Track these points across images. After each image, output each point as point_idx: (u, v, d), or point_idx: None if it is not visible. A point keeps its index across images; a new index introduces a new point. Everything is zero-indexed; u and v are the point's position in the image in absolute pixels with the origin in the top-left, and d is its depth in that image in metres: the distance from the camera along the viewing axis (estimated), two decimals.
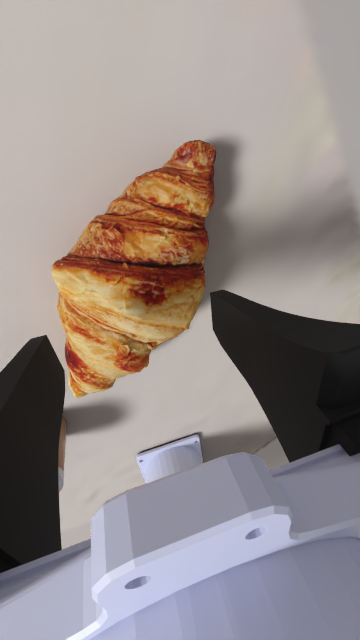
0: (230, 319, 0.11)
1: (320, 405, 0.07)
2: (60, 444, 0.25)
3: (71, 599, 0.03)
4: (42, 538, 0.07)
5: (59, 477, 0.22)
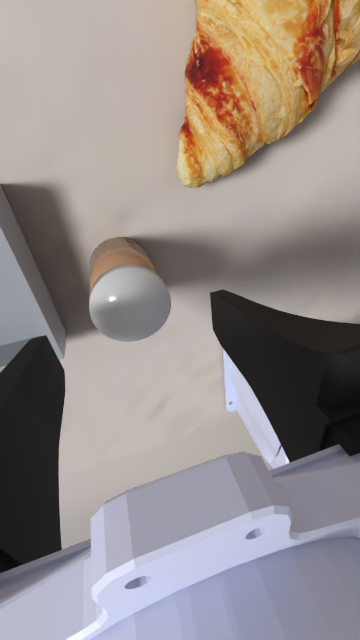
0: (230, 319, 0.11)
1: (320, 405, 0.07)
2: None
3: (71, 599, 0.03)
4: (42, 538, 0.07)
5: (168, 293, 0.14)
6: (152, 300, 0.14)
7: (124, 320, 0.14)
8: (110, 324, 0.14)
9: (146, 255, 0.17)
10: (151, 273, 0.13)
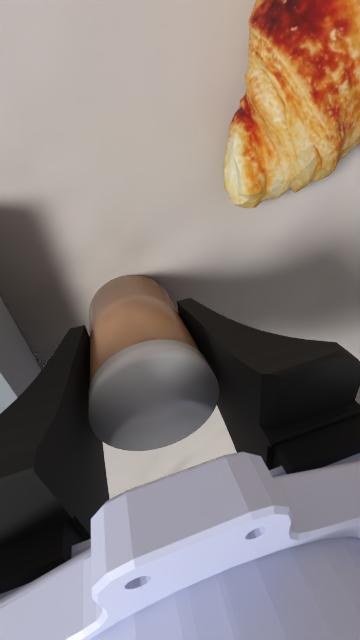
0: (193, 329, 0.10)
1: (263, 425, 0.06)
2: (186, 327, 0.11)
3: (71, 599, 0.03)
4: None
5: (216, 382, 0.09)
6: (191, 394, 0.09)
7: (145, 425, 0.09)
8: (123, 432, 0.09)
9: (172, 304, 0.12)
10: (192, 356, 0.08)
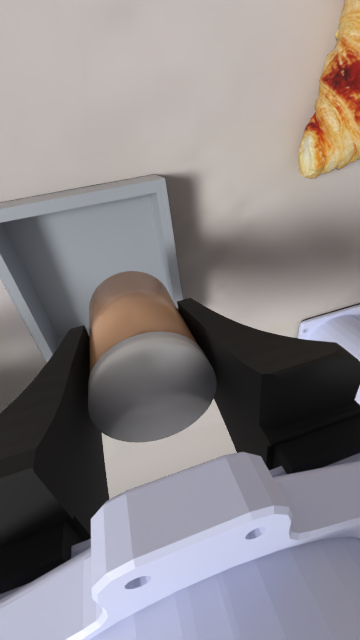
0: (192, 329, 0.10)
1: (263, 425, 0.06)
2: None
3: (71, 599, 0.03)
4: None
5: (213, 374, 0.09)
6: (188, 385, 0.09)
7: (144, 416, 0.09)
8: (122, 423, 0.09)
9: (170, 298, 0.12)
10: (189, 347, 0.08)
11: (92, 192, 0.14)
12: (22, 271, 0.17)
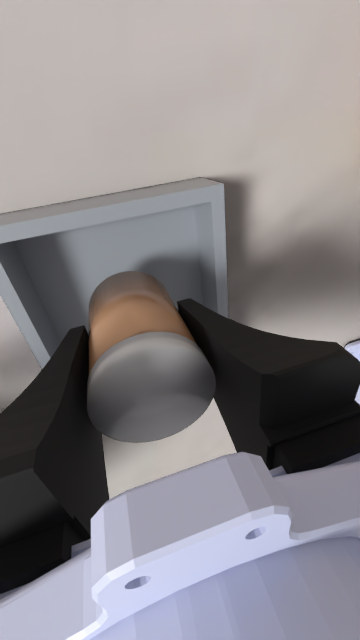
0: (193, 329, 0.10)
1: (263, 425, 0.06)
2: None
3: (71, 599, 0.03)
4: None
5: (212, 374, 0.09)
6: (188, 385, 0.09)
7: (143, 416, 0.09)
8: (121, 424, 0.09)
9: (169, 298, 0.12)
10: (188, 348, 0.08)
11: (131, 201, 0.11)
12: (35, 298, 0.14)
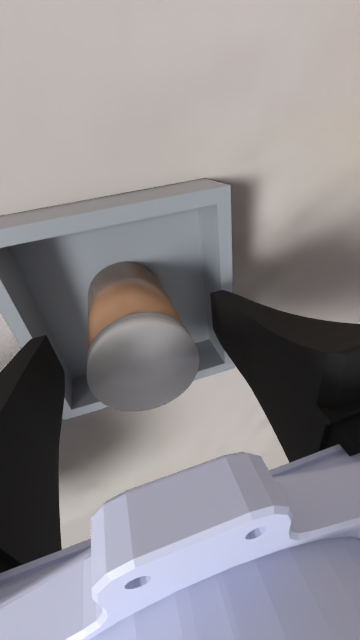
0: (230, 319, 0.11)
1: (320, 405, 0.07)
2: (174, 308, 0.12)
3: (71, 599, 0.03)
4: (42, 538, 0.07)
5: (196, 351, 0.10)
6: (175, 361, 0.10)
7: (135, 387, 0.10)
8: (116, 392, 0.10)
9: (162, 287, 0.13)
10: (176, 326, 0.09)
11: (133, 204, 0.10)
12: (32, 304, 0.13)
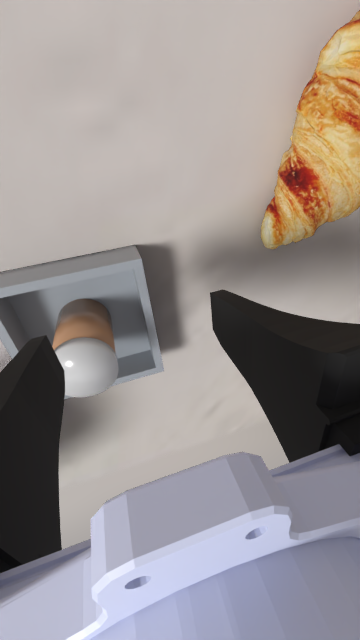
0: (230, 319, 0.11)
1: (320, 405, 0.07)
2: (111, 331, 0.19)
3: (71, 599, 0.03)
4: (42, 538, 0.07)
5: (115, 361, 0.17)
6: (101, 366, 0.17)
7: (77, 381, 0.17)
8: (65, 385, 0.17)
9: (105, 317, 0.20)
10: (100, 346, 0.16)
11: (79, 271, 0.17)
12: (19, 327, 0.20)
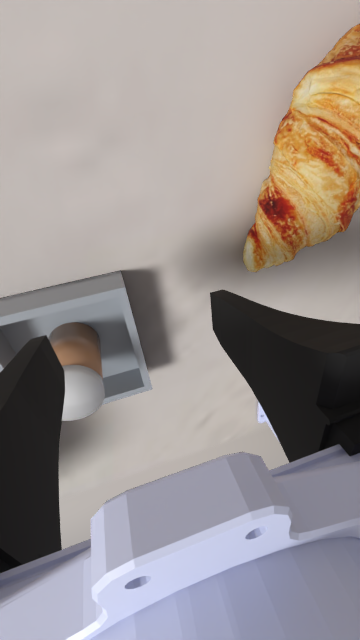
0: (229, 319, 0.11)
1: (320, 405, 0.07)
2: (98, 355, 0.20)
3: (71, 599, 0.03)
4: (42, 538, 0.07)
5: (101, 386, 0.18)
6: (88, 391, 0.18)
7: (65, 406, 0.18)
8: None
9: (93, 341, 0.21)
10: (86, 373, 0.17)
11: (65, 301, 0.18)
12: (10, 352, 0.20)
